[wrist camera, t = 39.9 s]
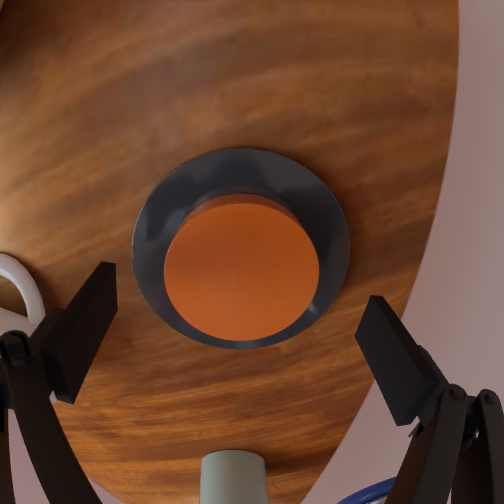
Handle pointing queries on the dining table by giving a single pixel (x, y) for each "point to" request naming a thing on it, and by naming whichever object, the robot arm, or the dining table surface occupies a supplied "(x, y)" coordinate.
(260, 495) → the jar
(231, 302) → the lid
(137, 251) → the mat
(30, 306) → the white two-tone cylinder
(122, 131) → the dining table surface
